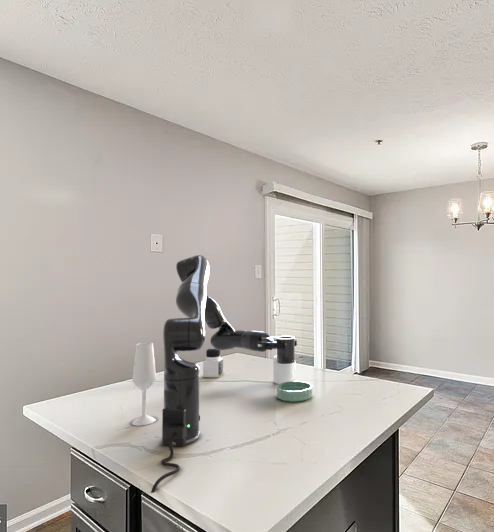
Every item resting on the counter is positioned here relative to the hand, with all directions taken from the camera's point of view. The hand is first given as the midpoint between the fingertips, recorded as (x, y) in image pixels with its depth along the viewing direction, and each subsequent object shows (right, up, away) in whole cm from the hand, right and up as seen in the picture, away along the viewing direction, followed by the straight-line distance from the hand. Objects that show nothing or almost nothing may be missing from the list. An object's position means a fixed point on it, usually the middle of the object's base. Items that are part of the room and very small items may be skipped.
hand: (291, 344), depth 138 cm
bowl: (+1, -20, +2) cm, 20 cm away
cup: (-2, -7, +1) cm, 7 cm away
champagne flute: (-44, -20, -21) cm, 53 cm away
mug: (-4, -21, +23) cm, 31 cm away
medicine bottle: (-38, -21, +32) cm, 54 cm away
